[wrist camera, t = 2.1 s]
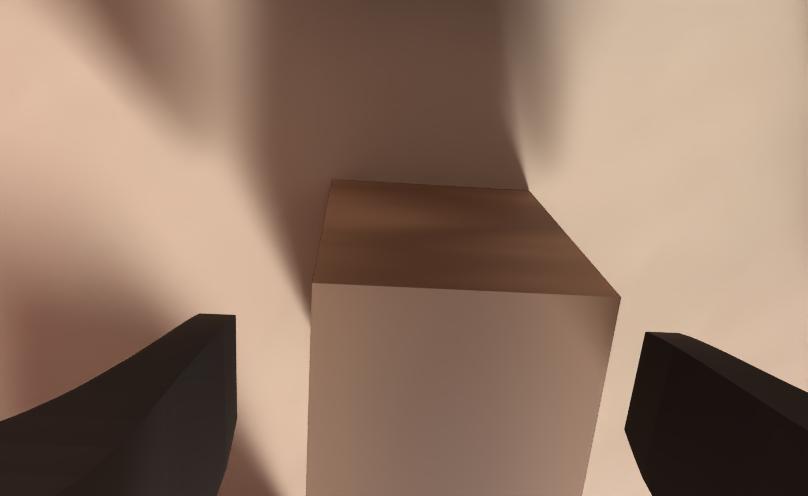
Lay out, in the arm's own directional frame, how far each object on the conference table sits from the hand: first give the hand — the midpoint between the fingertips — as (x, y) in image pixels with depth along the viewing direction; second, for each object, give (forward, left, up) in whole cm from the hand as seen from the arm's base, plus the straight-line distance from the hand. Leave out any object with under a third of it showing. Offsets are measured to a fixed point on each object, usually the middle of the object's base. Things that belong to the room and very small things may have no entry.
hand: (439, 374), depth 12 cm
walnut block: (0, 0, -5) cm, 5 cm away
